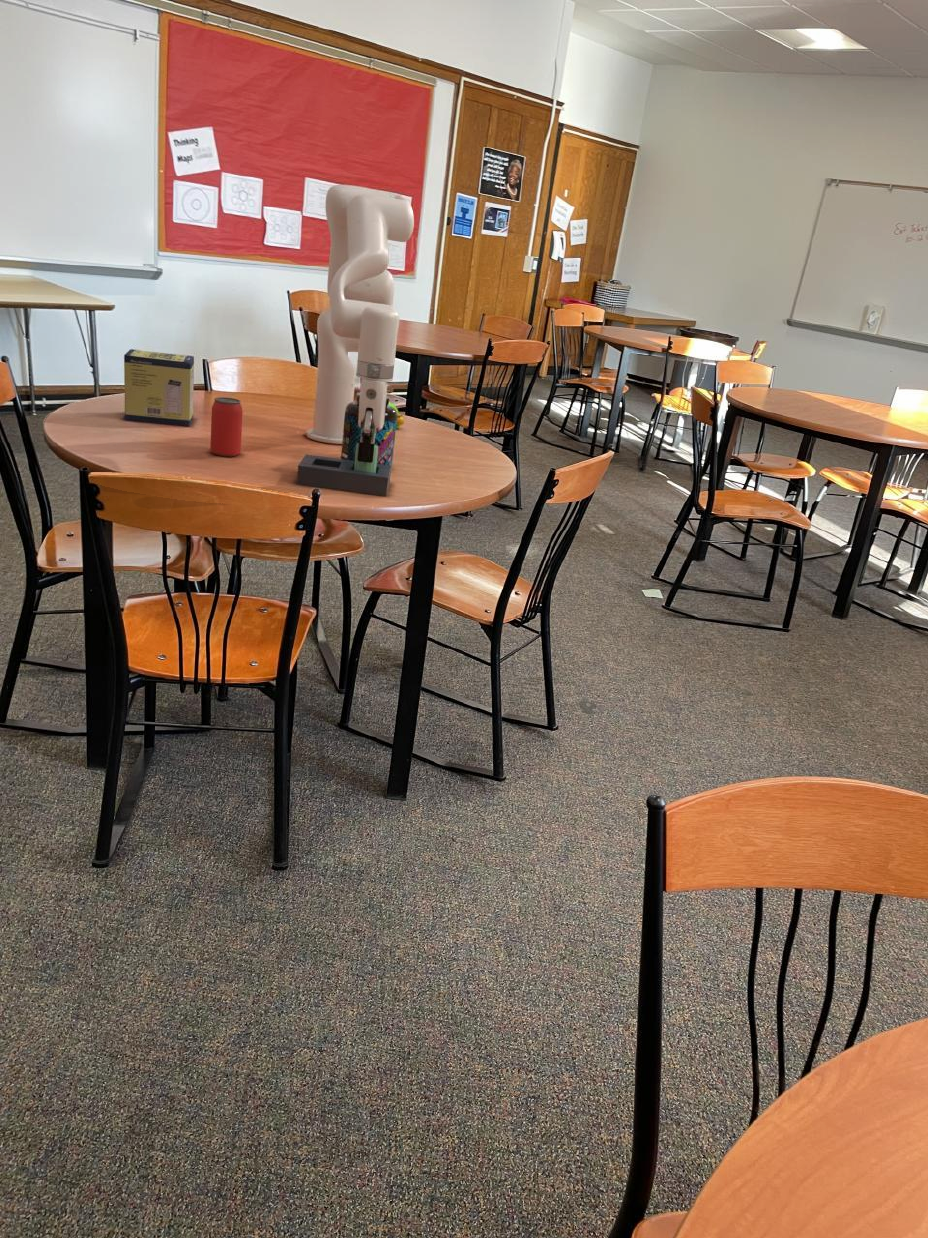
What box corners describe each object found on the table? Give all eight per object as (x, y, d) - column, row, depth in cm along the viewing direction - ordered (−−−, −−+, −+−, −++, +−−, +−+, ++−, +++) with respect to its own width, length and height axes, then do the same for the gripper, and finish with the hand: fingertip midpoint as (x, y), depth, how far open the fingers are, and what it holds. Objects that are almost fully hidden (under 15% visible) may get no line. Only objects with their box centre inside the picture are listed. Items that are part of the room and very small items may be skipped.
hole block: (304, 472, 196) (305, 454, 195) (389, 483, 198) (391, 465, 196) (296, 484, 186) (298, 465, 185) (386, 496, 188) (388, 477, 186)
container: (387, 475, 204) (391, 401, 197) (334, 468, 205) (336, 394, 199) (399, 464, 214) (403, 393, 208) (348, 458, 216) (351, 387, 210)
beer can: (210, 456, 197) (212, 401, 193) (210, 448, 203) (211, 395, 198) (241, 458, 199) (243, 404, 195) (239, 451, 205) (242, 398, 200)
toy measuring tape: (395, 431, 250) (398, 407, 247) (340, 416, 258) (342, 393, 256) (408, 429, 255) (411, 406, 252) (354, 414, 263) (356, 392, 261)
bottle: (353, 482, 194) (358, 429, 190) (374, 485, 194) (380, 432, 190) (351, 487, 190) (356, 434, 186) (373, 490, 190) (378, 437, 186)
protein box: (129, 411, 226) (129, 348, 220) (193, 418, 229) (195, 355, 223) (123, 420, 216) (122, 354, 210) (190, 426, 220) (192, 362, 214)
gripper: (390, 379, 175) (380, 470, 182) (395, 368, 191) (386, 452, 198) (352, 374, 175) (344, 465, 182) (360, 363, 190) (352, 447, 197)
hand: (366, 457), depth 190 cm, fingers closed on bottle, 4 cm apart
